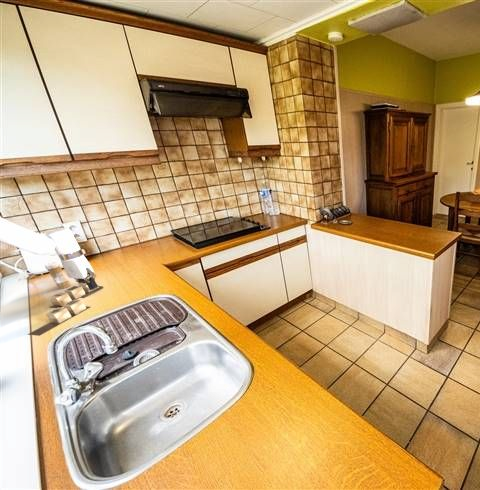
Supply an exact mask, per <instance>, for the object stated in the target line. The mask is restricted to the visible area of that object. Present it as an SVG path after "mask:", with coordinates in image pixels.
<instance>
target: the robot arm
mask: <svg viewBox="0 0 480 490" xmlns="http://www.w3.org/2000/svg"><path fill="white" fill-rule="evenodd" d="M1 242H2V243H3V244H7V245H10V246H13V247H15V248H18V249H20V250H24V251H26V252H29V253H32V254H34V255H41V256H43V255H47V254H51V253H52V252H54V251H55V253H56V254H57V256H58V258H59V259H60V263H61V265H62V267H63V271H64V273H65V275H66V277H67V278H69V279H73V280H75V282H76V283H80V282H83V281H85V280H86V282H87V283H86V284H87V285H88V287H89V289H90V290H93V289H95V288H97V287H98V286H99V285H98V283H97V281H96V279H95V278H97V275H96V274H95V271H94V268H93V267H92V265H91V264H90V262H89V261H88V259H87V258H86V256H85V254H84V252H83V250H82V248H81V247H80V245H79V243H78V242H77V239H76V237H75V235H74V234H73V232H72V230H71V229H70V228H66V227H65V228H63V227H62V228H57V229H53V230H50V231H46V232H40V233H38V232H36V231H33V230H30V229H27V228H25V227H22V226H20V225H18V224H16V223H14V222H12V221H9V220H8V219H6V218H3V217H1V216H0V243H1ZM95 281H96V282H95ZM96 283H97V284H96Z"/></svg>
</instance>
